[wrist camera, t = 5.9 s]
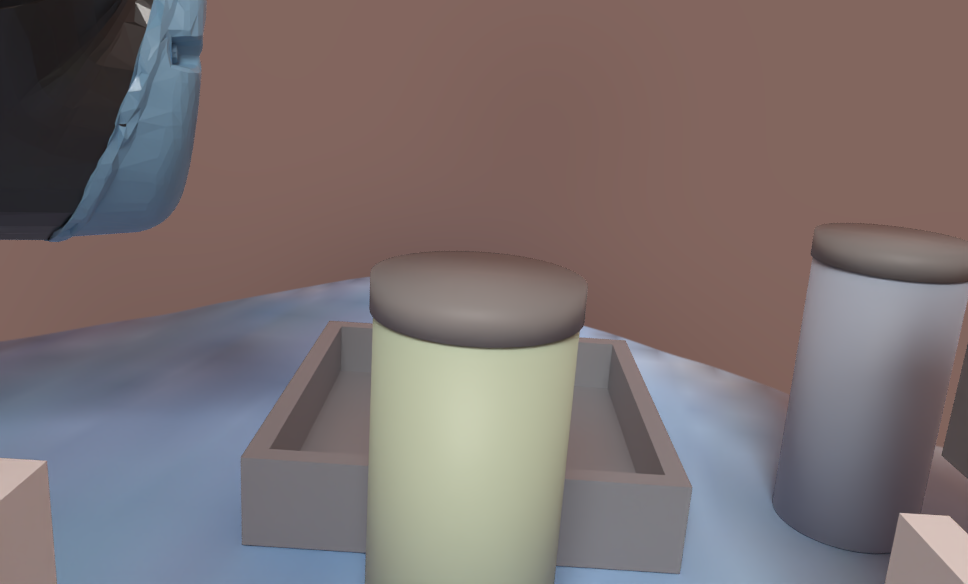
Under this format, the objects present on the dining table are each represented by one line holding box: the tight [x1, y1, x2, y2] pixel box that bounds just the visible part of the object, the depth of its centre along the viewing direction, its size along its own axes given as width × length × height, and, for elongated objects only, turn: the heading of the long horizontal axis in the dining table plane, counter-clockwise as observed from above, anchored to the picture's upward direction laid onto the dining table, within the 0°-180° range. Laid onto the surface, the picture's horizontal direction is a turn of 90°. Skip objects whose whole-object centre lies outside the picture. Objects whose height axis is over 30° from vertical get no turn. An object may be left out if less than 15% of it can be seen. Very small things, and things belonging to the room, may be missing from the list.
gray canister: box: [773, 223, 968, 553], centre depth 33 cm, size 6×6×12 cm
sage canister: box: [365, 251, 588, 584], centre depth 24 cm, size 6×6×12 cm
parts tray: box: [241, 321, 692, 574], centre depth 37 cm, size 16×16×4 cm
